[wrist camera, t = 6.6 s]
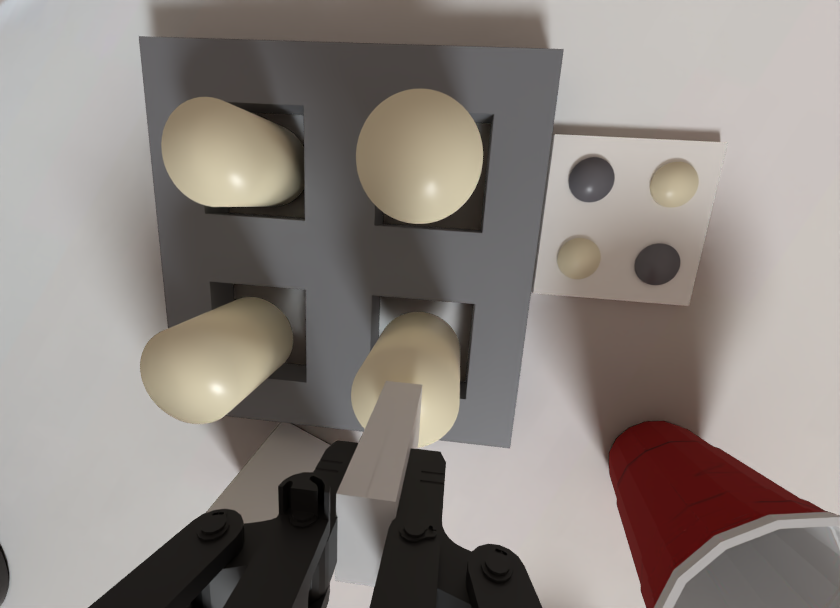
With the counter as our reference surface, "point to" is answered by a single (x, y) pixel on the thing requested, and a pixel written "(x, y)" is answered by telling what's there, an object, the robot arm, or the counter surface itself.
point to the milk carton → (270, 473)
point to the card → (625, 217)
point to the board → (361, 213)
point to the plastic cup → (718, 527)
